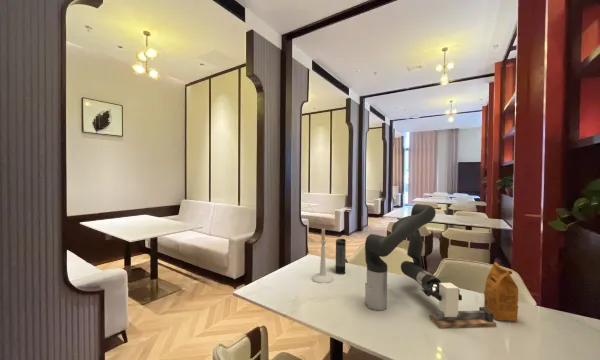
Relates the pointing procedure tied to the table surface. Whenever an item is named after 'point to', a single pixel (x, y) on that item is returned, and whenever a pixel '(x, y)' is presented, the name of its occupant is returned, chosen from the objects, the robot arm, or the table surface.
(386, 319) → the table surface
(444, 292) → the tall cream pillar
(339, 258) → the electronic device
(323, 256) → the candlestick
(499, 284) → the coffee package
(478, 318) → the rail base
